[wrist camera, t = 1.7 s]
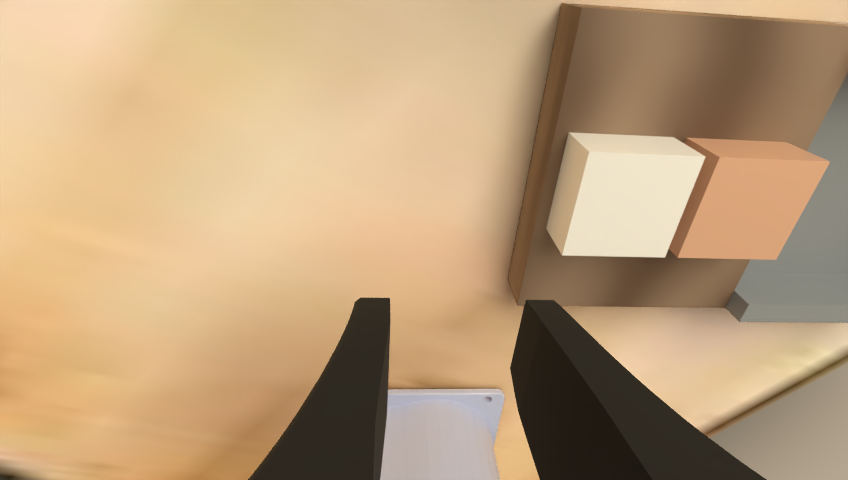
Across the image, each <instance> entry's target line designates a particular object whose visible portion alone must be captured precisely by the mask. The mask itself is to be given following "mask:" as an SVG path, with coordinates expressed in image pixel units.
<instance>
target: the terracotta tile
mask: <svg viewBox="0 0 848 480" xmlns="http://www.w3.org/2000/svg"><path fill="white" fill-rule="evenodd" d="M684 144H686V145H687V146H689V147H691V148H692V149H694V150H696V151H697V152H699V153H701V154H702V155H704V156H706V157H705V160H704V162H703V165H702V167H701V169H700V172H699V174H698V177H697V179H696V182H695V184H694V187H693V189H692V192H691V194H690V197H689V199H688V202H687V204H686V207H685V209H684V212H683V214H682V217H681V219H680V222H679V224H678V227H677V229H676V232H675V234H674V236H673V239H672V241H671V244H670V246H669V250H670V251H671V252H672V253H673V254H674V255H675V256H676V257H677V258H712V259H761V260H776V259H777V257H778V255H779V253H780V252H781V250H782V248H783V246H784V244H785V243H786V241H787V239H788V237H789V235H790V234H791V232H792V230H793V228H794V226H795V225H796V223H797V221H798V219H799V217H800V216H801V214H802V212H803V210H804V208H805V207H806V205H807V203H808V201H809V199H810V198H811V196H812V194H813V192H814V190H815V189H816V187H817V185H818V183H819V181H820V180H821V178H822V176H823V174H824V172H825V171H826V169H827V167H828V165H829V163H830V161H828V160H825V159H823V158H821V157H819V156H816V155H814V154H812V153H810V152H807V151H805V150H803V149H801V148H798V147H796V146H794V145H792V144H790V143H787V142H771V141H749V140H727V139H704V138H686V140H685V143H684Z"/></svg>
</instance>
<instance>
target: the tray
mask: <svg viewBox="0 0 848 480" xmlns="http://www.w3.org/2000/svg"><path fill="white" fill-rule="evenodd" d="M830 23H837V22H830ZM838 24H846V25H848V23H838ZM807 152H810V153H812V154H814V155H816V156H819V157H821V158H823V159H825V160H828V161H830V163H829V165H828V167H827V169H826V171H825V172H824V174H823V176H822V178H821V180H820V181H819V183H818V185H817V187H816V189H815V190H814V192H813V194H812V196H811V198H810V199H809V201H808V203H807V205H806V207H805V208H804V210H803V212H802V214H801V216H800V217H799V219H798V221H797V223H796V225H795V226H794V228H793V230H792V232H791V234H790V235H789V237H788V239H787V241H786V243H785V244H784V246H783V248H782V250H781V252H780V253H779V255H778V257H777V259H776V260H761V259H751V260H750V261H749V263H748V265H747V267H746V269H745V271H744V273H743V275H742V277H741V279H740V281H739V283H738V285H737V286H736V288H735V290H734V292H733V294H732V296H731V298H730V300H729V302H728V304H727V306H726V309H727V310H728V311H729V312H730V313H731V314H732V315H733V316H734V317H735V318H736V319H737V320H738V321H739V322H825V323H848V73H847V75H846V77H845V79H844V81H843V83H842V85H841V86H840V88H839V90H838V92H837V94H836V96H835V98H834V100H833V102H832V104H831V106H830V108H829V110H828V111H827V113H826V115H825V117H824V119H823V121H822V123H821V125H820V127H819V129H818V131H817V133H816V135H815V136H814V138H813V140H812V142H811V144H810V146H809V148H808V150H807Z"/></svg>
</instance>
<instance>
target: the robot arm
mask: <svg viewBox="0 0 848 480" xmlns="http://www.w3.org/2000/svg"><path fill="white" fill-rule="evenodd" d="M389 343H390V298H360V299H358V300H357V301H356V302H355V304H354V308H353V311H352V314H351V316H350V319H349V321H348V324H347V326H346V328H345V331H344V333H343V335H342V337H341V339H340V341H339V343H338V345H337V347H336V349H335V351H334V353H333V354H332V356H331V358H330V360H329V362H328V364H327V365H326V367H325V369H324V371H323V373H322V374H321V376H320V378H319V380H318V381H317V383H316V384H315V386H314V388H313V389H312V391H311V392H310V394H309V396H308V397H307V399H306V400H305V402H304V403H303V405H302V407H301V408H300V410H299V411H298V413H297V414H296V416H295V417H294V419H293V420H292V422H291V423H290V425H289V426H288V428H287V429H286V430H285V432H284V433H283V435H282V436H281V437H280V439H279V440H278V442H277V443H276V444H275V446H274V447H273V448H272V450H271V451H270V452H269V454H268V455H267V456H266V458H265V459H264V460H263V462H262V463H261V464H260V466H259V467H258V468H257V469H256V471H255V472H254V473H253V474H252V476H251V477H250V478H249V479H248V480H500V476H499V471H498V467H497V462H496V457H495V453H494V443H495V439H496V434H497V430H498V426H499V421H500V417H501V413H502V408H503V404H504V400H505V397H504V393H503V391H502V390H500V389H388V372H389ZM510 370H511V375H512V381H513V386H514V392H515V397H516V402H517V407H518V412H519V415H520V419H521V422H522V425H523V428H524V431H525V435H526V438H527V441H528V444H529V447H530V450H531V453H532V456H533V460H534V463H535V466H536V469H537V472H538V475H539V478H540V480H766V479H765V478H763V477H762V476H760V475H759V474H757V473H756V472H755V471H753V470H752V469H750V468H749V467H747V466H746V465H745V464H743V463H742V462H740V461H739V460H738V459H736V458H735V457H734V456H732V455H731V454H730V453H728V452H727V451H725V450H724V449H723V448H722V447H720V446H719V445H718V444H716V443H715V442H714V441H712V440H711V439H710V438H708V437H707V436H706V435H704V434H703V433H702V432H700V431H699V430H698V429H696V428H695V427H694V426H693V425H691V424H690V423H689V422H687V421H686V420H685V419H684V418H682V417H681V416H680V415H679V414H678V413H676V412H675V411H674V410H673V409H672V408H670V407H669V406H668V405H667V404H666V403H664V402H663V401H662V400H661V399H660V398H659V397H657V396H656V395H655V394H654V393H653V392H651V391H650V390H649V389H648V388H647V387H646V386H645V385H643V384H642V383H641V382H640V381H639V380H638V379H637V378H635V377H634V376H633V375H632V374H631V373H630V372H629V371H628V370H627V369H626V368H624V367H623V366H622V365H621V364H620V363H619V362H618V361H617V360H616V359H615V358H614V357H613V356H612V355H610V354H609V353H608V352H607V351H606V350H605V349H604V348H603V347H602V346H601V345H600V344H599V343H598V342H597V341H596V340H595V339H594V338H593V337H592V336H591V335H590V334H589V333H588V332H587V331H586V330H585V329H584V328H582V327H581V326H580V325H579V324H578V323H577V322H576V321H575V320H574V319H573V318H572V317H571V316H570V315H569V314H568V313H567V312H566V311H565V310H564V309H563V308H562V307H561V306H560V305H559V304H558V303H557V302H555V301H554V300H526V301H525V306H524V310H523V314H522V319H521V323H520V328H519V332H518V336H517V341H516V345H515V350H514V354H513V358H512V363H511V367H510Z"/></svg>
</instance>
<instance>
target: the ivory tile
mask: <svg viewBox="0 0 848 480" xmlns="http://www.w3.org/2000/svg"><path fill="white" fill-rule="evenodd" d="M705 157H706V156H704V155H702V154H701V153H699V152H697V151H696V150H694V149H692V148H691V147H689V146H687V145H686V144H684V143H682V142H681V141H679V140H677V139H676V138H674V137H660V136H637V135H615V134H593V133H570V132H569V133H568V137H567V141H566V146H565V150H564V154H563V159H562V163H561V167H560V171H559V176H558V180H557V184H556V189H555V193H554V197H553V201H552V206H551V210H550V214H549V219H548V223H547V227H546V229H547V231H548V233H549V234H550V236H551V238H552V239H553V241H554V243H555V244H556V246H557V248H558V249H559V251H560V253H561V255H565V256H614V257H663V258H665V256H666V254H667V251H668V249H669V246H670V244H671V241H672V239H673V236H674V234H675V232H676V229H677V227H678V224H679V222H680V219H681V217H682V214H683V212H684V209H685V207H686V204H687V202H688V199H689V197H690V194H691V192H692V189H693V187H694V184H695V182H696V179H697V177H698V174H699V172H700V169H701V167H702V165H703V162H704V160H705Z"/></svg>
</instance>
